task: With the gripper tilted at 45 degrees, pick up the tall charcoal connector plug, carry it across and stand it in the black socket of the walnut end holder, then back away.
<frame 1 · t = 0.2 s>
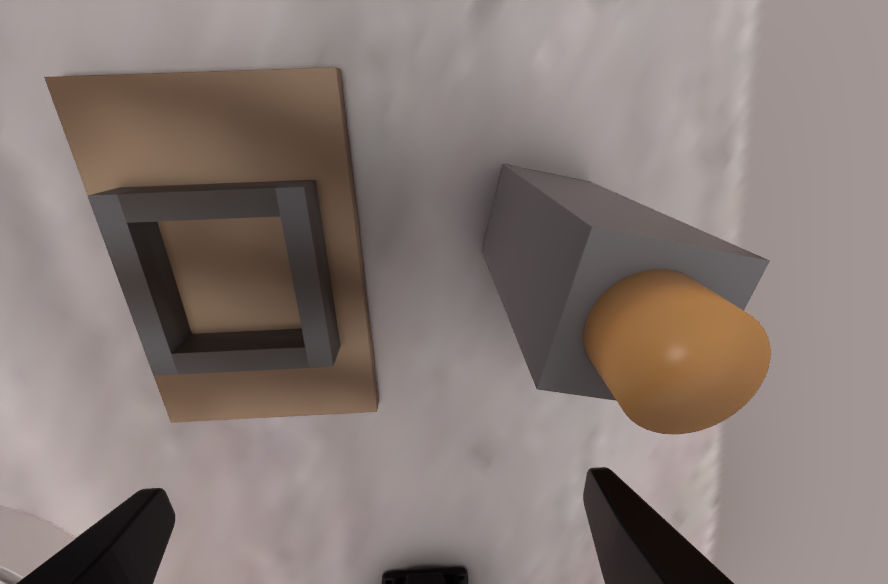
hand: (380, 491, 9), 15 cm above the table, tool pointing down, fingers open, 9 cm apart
honey pot: (9, 564, 31), on the table
connector plug: (534, 217, 22), on the table
end holder: (247, 267, 22), on the table
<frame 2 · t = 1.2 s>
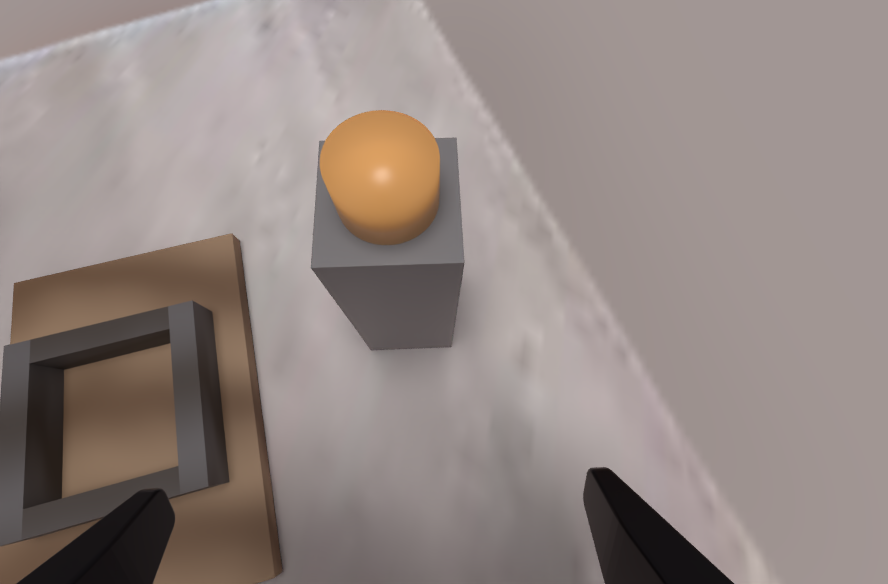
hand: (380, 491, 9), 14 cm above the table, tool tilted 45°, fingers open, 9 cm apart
connector plug: (410, 310, 24), on the table
end holder: (143, 416, 22), on the table
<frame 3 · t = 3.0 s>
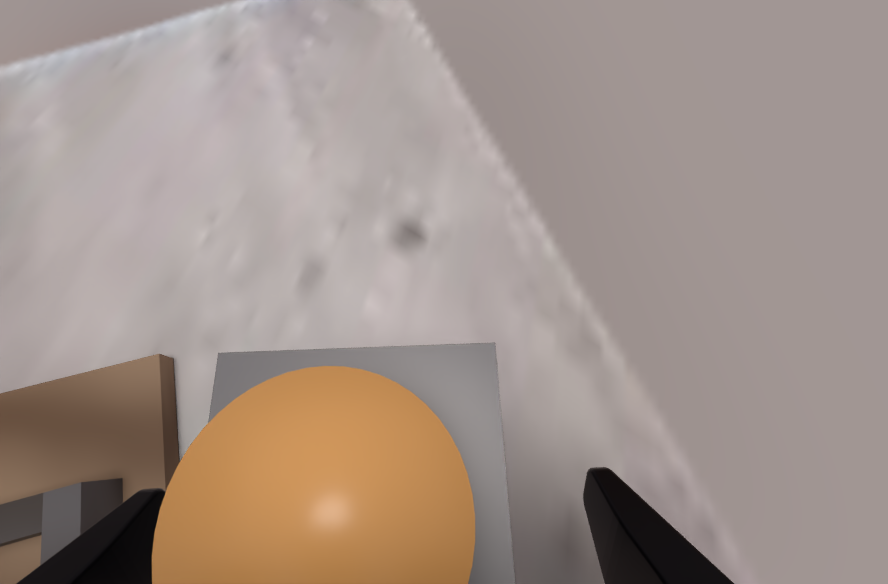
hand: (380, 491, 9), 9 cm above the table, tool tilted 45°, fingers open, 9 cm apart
connector plug: (407, 464, 17), on the table
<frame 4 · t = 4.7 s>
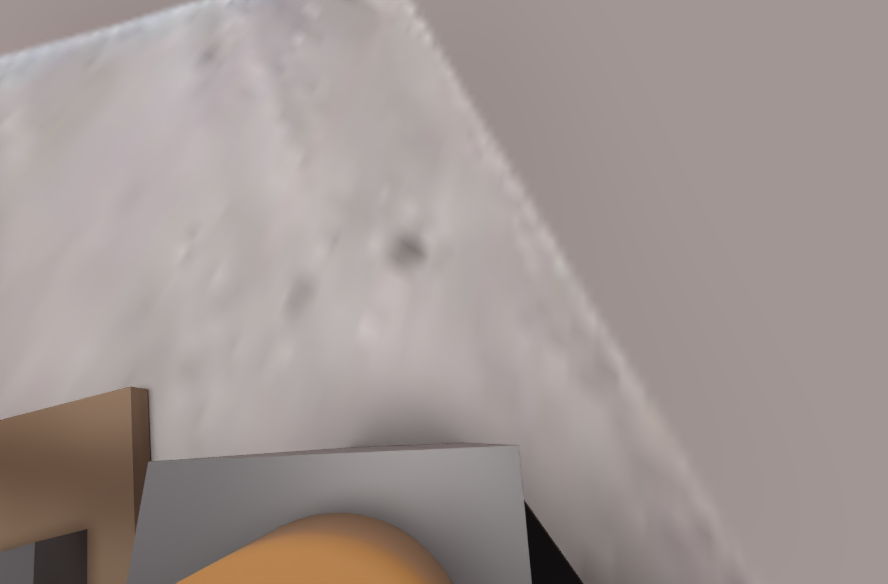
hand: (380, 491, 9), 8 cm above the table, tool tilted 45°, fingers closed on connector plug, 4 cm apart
connector plug: (406, 509, 16), on the table, touching gripper
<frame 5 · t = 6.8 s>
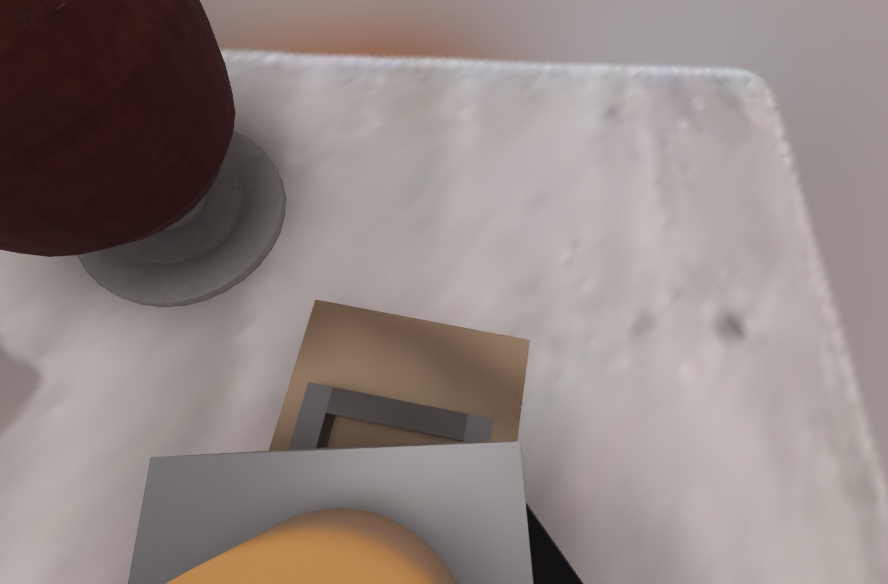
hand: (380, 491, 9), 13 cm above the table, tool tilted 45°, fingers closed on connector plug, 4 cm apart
connector plug: (406, 508, 16), point 6 cm above the table, touching gripper
end holder: (385, 495, 21), on the table
mate gourd: (190, 203, 27), on the table
when the fingers open (9 cm above the table, at t = 8.9 s): connector plug stays where it is, resting on end holder.
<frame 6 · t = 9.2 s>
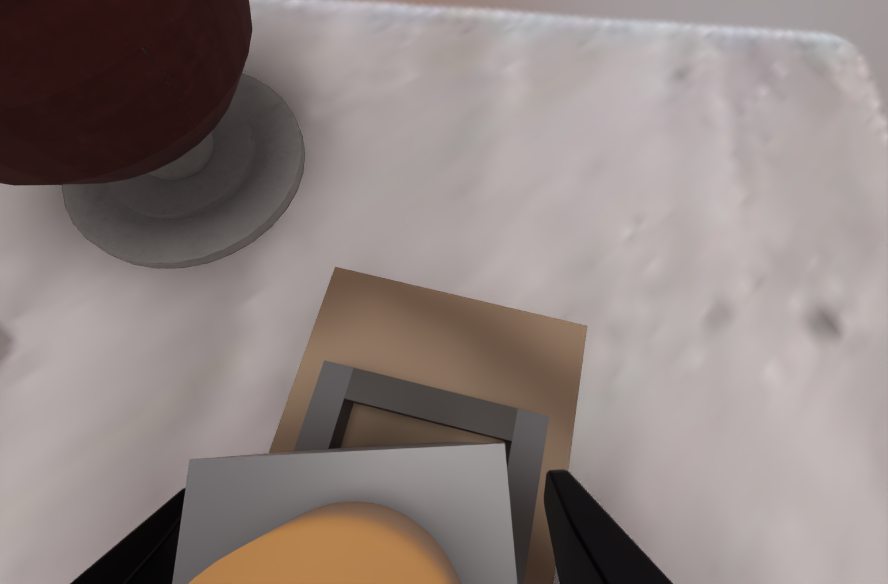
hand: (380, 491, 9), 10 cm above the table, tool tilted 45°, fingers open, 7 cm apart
connector plug: (407, 505, 17), point 1 cm above the table, touching end holder
end holder: (409, 501, 18), on the table
mate gourd: (196, 154, 23), on the table
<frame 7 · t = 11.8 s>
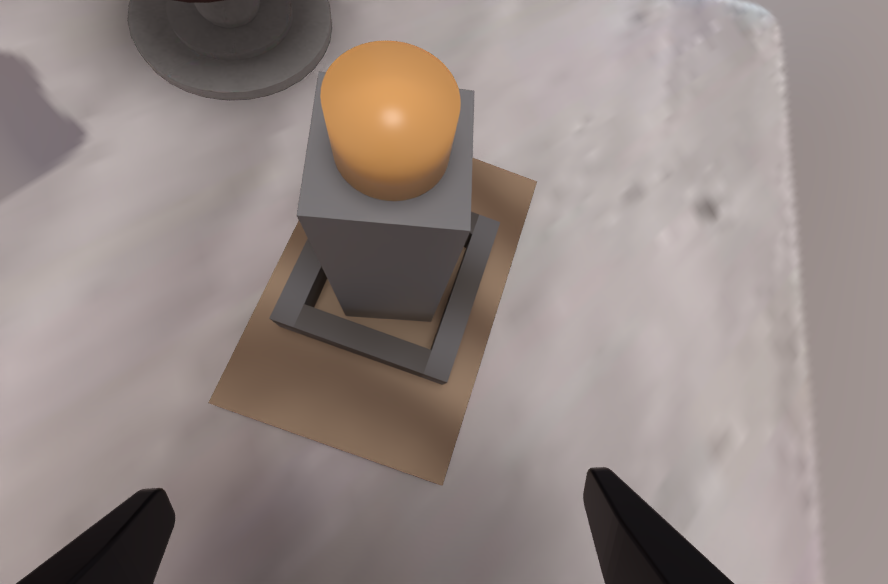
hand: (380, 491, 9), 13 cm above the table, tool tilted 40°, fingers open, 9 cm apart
connector plug: (392, 278, 23), point 1 cm above the table, touching end holder
end holder: (392, 284, 24), on the table
mate gourd: (240, 14, 28), on the table
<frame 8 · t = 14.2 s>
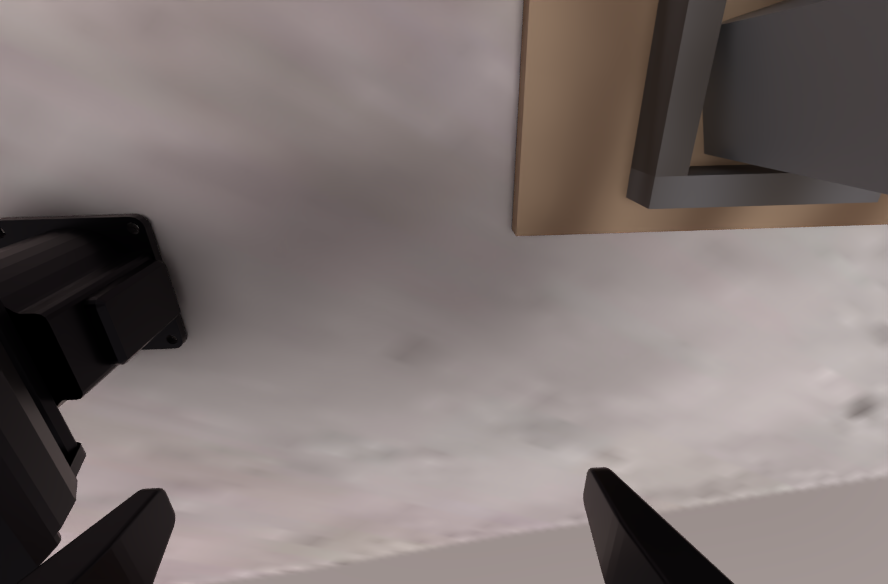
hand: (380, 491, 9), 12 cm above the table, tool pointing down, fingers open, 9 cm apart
connector plug: (762, 75, 16), point 1 cm above the table, touching end holder
end holder: (743, 76, 17), on the table
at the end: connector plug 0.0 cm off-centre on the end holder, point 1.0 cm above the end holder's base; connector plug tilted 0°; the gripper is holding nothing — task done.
